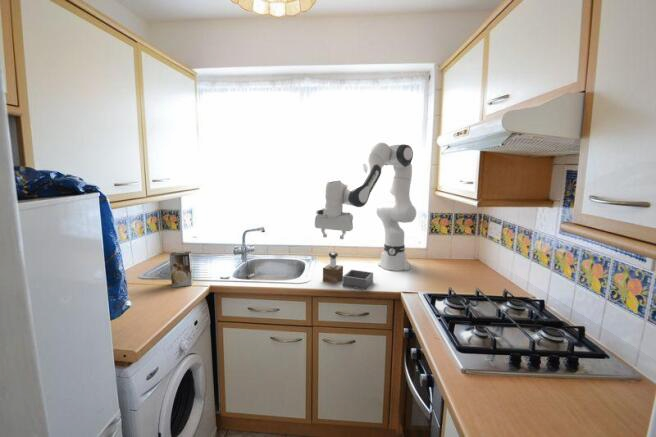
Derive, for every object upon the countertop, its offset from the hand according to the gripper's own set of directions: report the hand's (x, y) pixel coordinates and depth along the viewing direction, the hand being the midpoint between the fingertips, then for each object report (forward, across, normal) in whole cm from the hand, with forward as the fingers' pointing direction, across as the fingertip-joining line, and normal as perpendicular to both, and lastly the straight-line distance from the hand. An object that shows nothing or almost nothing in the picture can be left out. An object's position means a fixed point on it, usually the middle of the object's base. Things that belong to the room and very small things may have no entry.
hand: (333, 238), depth 162 cm
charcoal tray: (+22, -14, 0) cm, 26 cm away
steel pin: (+22, 0, 0) cm, 22 cm away
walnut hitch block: (+22, 0, 0) cm, 22 cm away
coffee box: (+23, +65, +39) cm, 79 cm away
